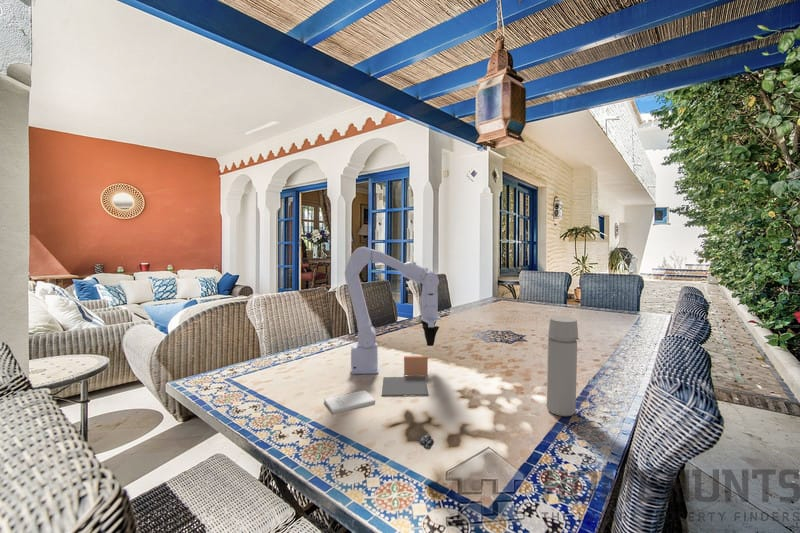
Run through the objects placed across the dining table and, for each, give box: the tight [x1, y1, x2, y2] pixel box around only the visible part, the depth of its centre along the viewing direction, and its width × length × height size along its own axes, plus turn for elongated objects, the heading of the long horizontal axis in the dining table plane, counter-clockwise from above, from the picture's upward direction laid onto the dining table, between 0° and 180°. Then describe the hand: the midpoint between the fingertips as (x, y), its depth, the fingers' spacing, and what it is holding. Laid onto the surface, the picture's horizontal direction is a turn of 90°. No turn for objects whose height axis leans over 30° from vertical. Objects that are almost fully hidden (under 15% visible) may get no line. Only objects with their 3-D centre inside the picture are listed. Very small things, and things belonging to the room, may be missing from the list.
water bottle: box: [546, 316, 580, 417], centre depth 96 cm, size 9×8×25 cm
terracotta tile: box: [403, 355, 429, 375], centre depth 124 cm, size 8×2×6 cm, turn 90°
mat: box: [381, 376, 429, 397], centre depth 114 cm, size 14×14×1 cm
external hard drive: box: [323, 389, 376, 414], centre depth 103 cm, size 2×8×12 cm
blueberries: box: [418, 433, 435, 450], centre depth 82 cm, size 7×8×2 cm
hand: (429, 342), depth 129 cm, fingers open, 7 cm apart
